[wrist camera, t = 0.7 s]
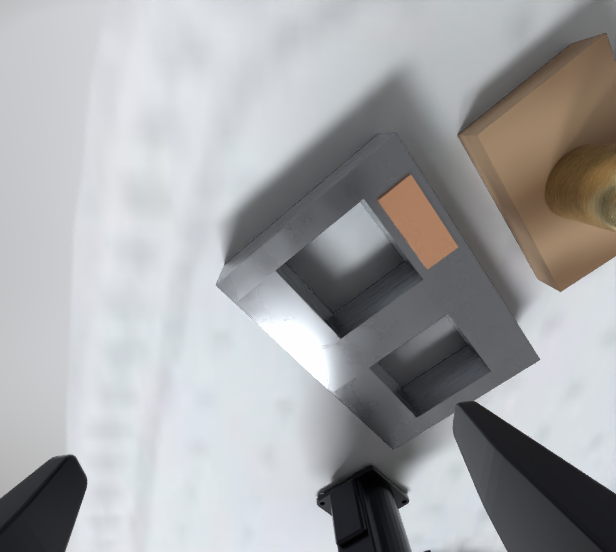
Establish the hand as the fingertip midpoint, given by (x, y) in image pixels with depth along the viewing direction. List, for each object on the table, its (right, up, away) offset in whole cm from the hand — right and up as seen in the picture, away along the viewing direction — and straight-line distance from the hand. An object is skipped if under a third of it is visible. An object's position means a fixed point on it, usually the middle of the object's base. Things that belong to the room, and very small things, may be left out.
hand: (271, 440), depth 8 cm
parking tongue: (+16, +10, +12) cm, 22 cm away
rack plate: (+6, +2, +15) cm, 16 cm away
